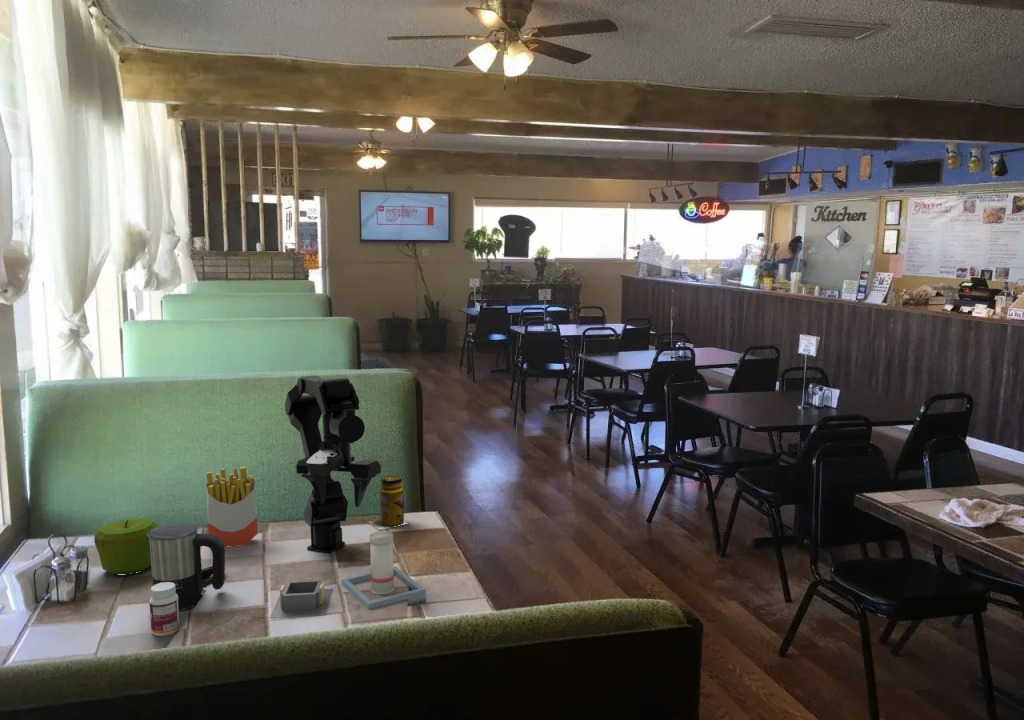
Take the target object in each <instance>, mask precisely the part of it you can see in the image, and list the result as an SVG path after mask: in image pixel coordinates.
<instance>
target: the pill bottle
mask: <svg viewBox="0 0 1024 720" xmlns="http://www.w3.org/2000/svg"><path fill="white" fill-rule="evenodd" d="M175 592H176V588H175V584H174V583H172V582H163V583H158V584H156V585H154V586H153V585H152V586H151V588H150V596H151V597H150V599H149V601H148V602H149V613H150V614H149V616H150V629H151V634H152V635H153V636H157V637H167V636H170V635H172V634H175V633H176V632H178V631H179V629H180V627H181V624H180V623H181V621H180V611H179V602H178V595H177V594H176V593H175Z"/></svg>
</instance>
